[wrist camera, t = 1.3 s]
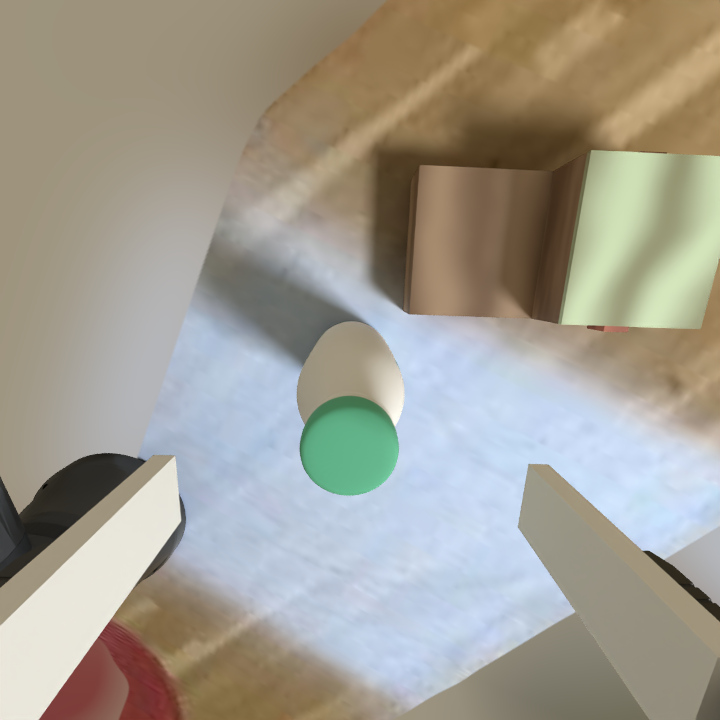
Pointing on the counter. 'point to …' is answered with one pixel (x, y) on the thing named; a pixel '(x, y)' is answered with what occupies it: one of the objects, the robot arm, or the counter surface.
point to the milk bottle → (350, 409)
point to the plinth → (568, 241)
